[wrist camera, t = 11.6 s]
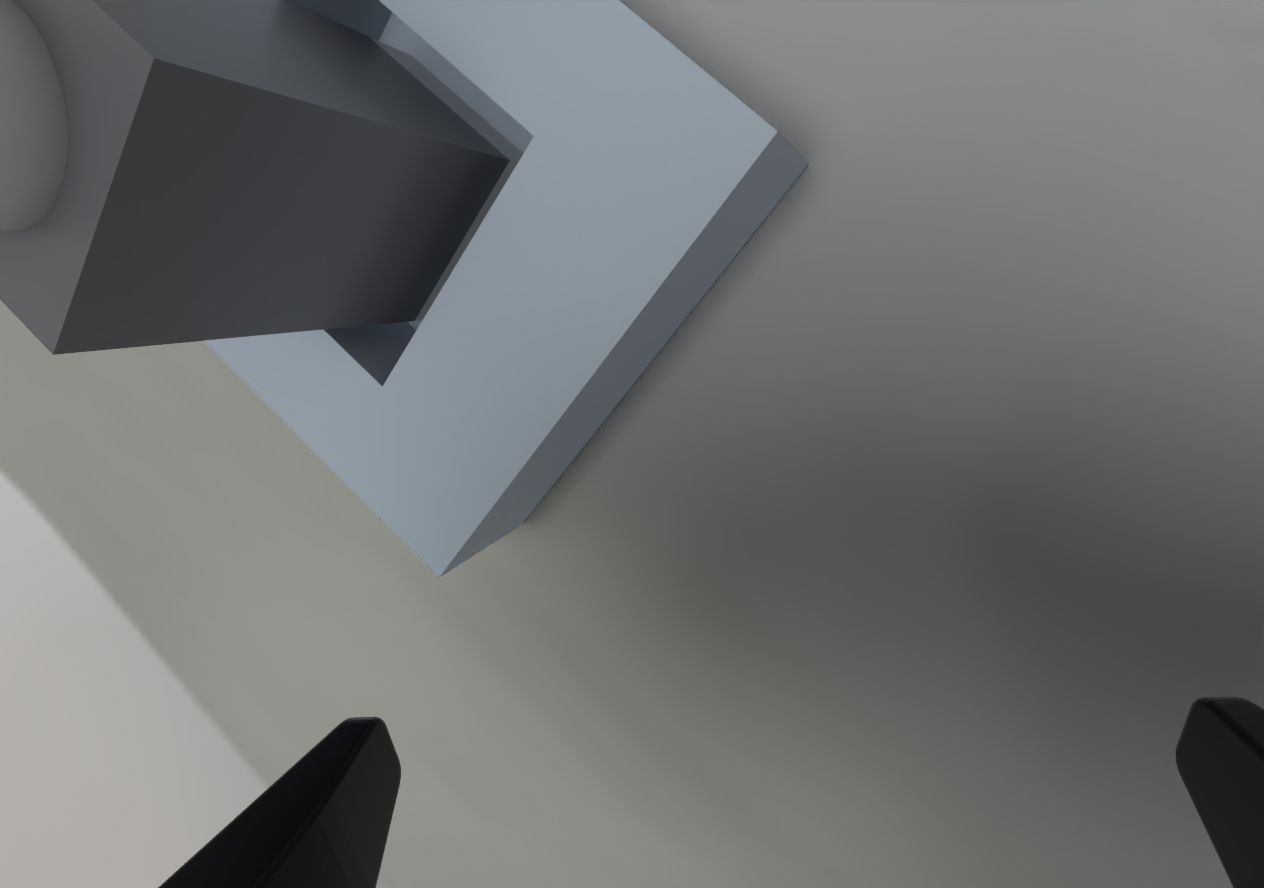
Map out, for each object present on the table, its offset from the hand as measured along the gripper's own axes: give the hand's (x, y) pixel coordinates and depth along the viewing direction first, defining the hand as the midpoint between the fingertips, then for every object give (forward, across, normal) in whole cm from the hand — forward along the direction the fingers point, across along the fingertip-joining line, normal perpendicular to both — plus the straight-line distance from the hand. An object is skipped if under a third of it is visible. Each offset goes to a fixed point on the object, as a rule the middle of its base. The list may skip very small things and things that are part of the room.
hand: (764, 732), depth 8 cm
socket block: (+14, +7, -4) cm, 16 cm away
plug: (+13, +7, -5) cm, 15 cm away
